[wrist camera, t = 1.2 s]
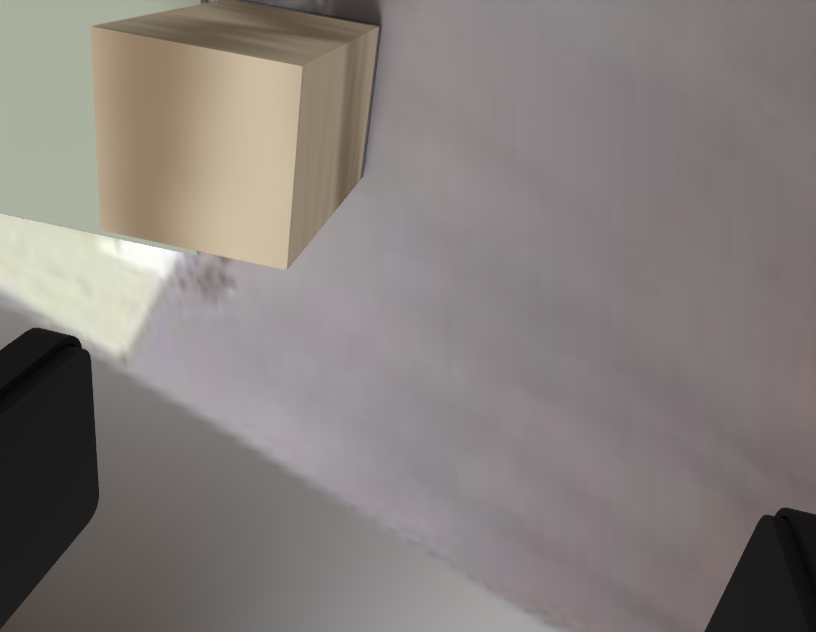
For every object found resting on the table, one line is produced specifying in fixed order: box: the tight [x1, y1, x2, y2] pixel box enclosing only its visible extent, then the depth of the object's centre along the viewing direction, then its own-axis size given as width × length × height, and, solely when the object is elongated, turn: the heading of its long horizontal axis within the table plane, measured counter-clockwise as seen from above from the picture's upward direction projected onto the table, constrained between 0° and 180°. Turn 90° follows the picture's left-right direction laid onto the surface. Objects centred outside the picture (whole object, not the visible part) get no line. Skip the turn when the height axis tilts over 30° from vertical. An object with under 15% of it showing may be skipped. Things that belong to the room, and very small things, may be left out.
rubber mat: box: [0, 0, 206, 256], centre depth 31 cm, size 12×16×1 cm
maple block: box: [90, 0, 382, 270], centre depth 26 cm, size 6×6×10 cm
